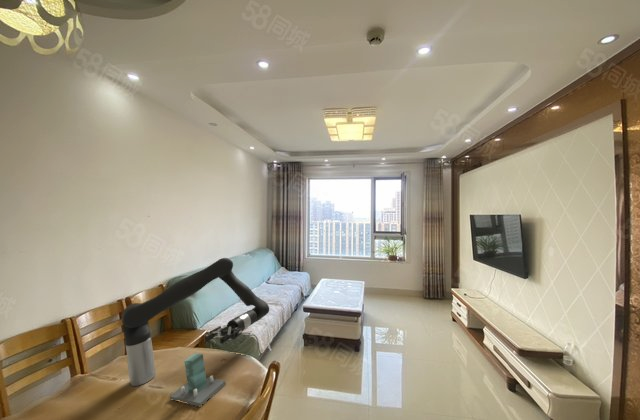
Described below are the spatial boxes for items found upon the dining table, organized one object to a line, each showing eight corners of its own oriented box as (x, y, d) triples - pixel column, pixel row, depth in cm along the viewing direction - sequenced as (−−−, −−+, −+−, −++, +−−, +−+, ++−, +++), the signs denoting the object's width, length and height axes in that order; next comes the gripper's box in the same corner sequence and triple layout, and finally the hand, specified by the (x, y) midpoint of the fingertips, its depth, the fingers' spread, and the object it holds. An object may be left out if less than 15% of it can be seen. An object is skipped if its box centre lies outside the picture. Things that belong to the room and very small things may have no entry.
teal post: (188, 392, 96) (184, 360, 97) (199, 383, 101) (195, 353, 101) (196, 393, 95) (192, 361, 95) (206, 384, 99) (202, 354, 100)
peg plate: (170, 400, 95) (168, 389, 96) (196, 379, 107) (195, 369, 107) (200, 407, 89) (199, 396, 89) (225, 384, 100) (224, 374, 100)
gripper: (227, 315, 127) (200, 330, 112) (250, 317, 121) (224, 333, 107) (229, 330, 127) (202, 347, 112) (251, 332, 121) (226, 351, 106)
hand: (213, 340), depth 109 cm, fingers open, 8 cm apart
